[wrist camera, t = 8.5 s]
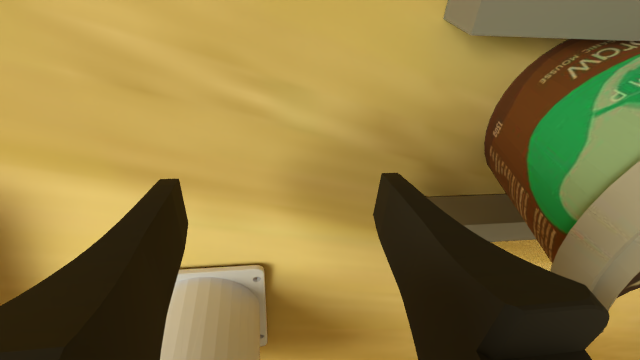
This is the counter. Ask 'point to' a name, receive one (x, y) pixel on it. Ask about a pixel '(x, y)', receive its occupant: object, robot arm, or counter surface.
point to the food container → (576, 160)
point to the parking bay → (541, 22)
